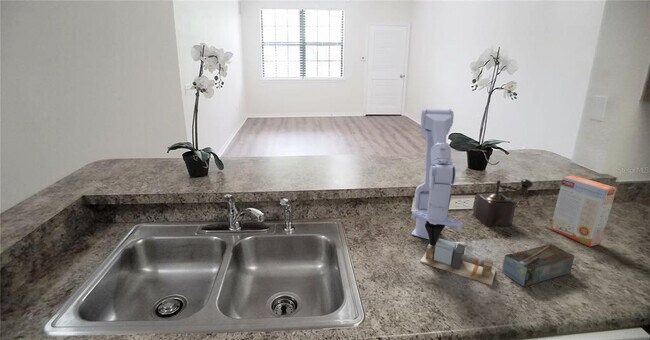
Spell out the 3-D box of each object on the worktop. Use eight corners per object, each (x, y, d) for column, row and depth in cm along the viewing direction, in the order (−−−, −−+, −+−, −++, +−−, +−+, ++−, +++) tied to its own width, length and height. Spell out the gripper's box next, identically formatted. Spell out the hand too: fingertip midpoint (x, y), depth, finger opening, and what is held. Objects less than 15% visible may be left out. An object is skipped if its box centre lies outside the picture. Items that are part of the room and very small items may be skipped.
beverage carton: (499, 271, 99) (503, 251, 97) (546, 260, 105) (551, 241, 103) (523, 287, 92) (528, 267, 90) (571, 274, 98) (577, 254, 96)
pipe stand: (420, 262, 102) (421, 249, 101) (427, 250, 109) (429, 238, 107) (491, 285, 92) (494, 271, 91) (495, 270, 98) (498, 257, 97)
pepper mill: (487, 227, 125) (495, 182, 119) (472, 214, 135) (479, 172, 130) (526, 226, 126) (536, 181, 121) (508, 213, 137) (516, 171, 131)
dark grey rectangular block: (451, 267, 98) (454, 251, 97) (455, 258, 103) (458, 243, 101) (458, 269, 97) (461, 253, 96) (462, 261, 102) (465, 245, 100)
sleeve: (433, 259, 101) (435, 243, 100) (437, 252, 105) (439, 237, 103) (450, 265, 99) (453, 248, 97) (454, 257, 103) (456, 241, 101)
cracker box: (601, 244, 114) (618, 187, 108) (589, 247, 112) (606, 189, 106) (560, 226, 126) (573, 174, 120) (549, 229, 124) (562, 176, 118)
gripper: (409, 202, 99) (405, 242, 103) (461, 214, 92) (454, 257, 96) (417, 195, 105) (413, 233, 109) (466, 205, 97) (459, 247, 101)
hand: (433, 244), depth 103 cm, fingers closed
